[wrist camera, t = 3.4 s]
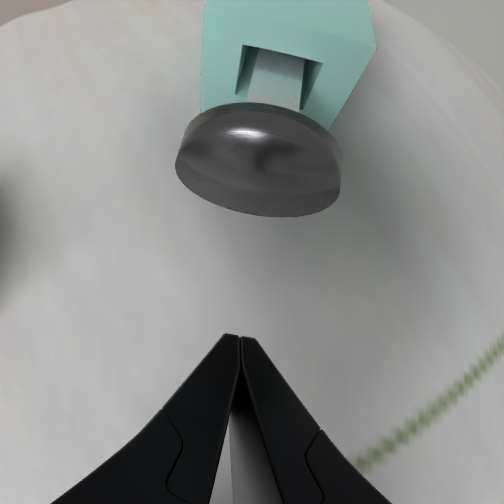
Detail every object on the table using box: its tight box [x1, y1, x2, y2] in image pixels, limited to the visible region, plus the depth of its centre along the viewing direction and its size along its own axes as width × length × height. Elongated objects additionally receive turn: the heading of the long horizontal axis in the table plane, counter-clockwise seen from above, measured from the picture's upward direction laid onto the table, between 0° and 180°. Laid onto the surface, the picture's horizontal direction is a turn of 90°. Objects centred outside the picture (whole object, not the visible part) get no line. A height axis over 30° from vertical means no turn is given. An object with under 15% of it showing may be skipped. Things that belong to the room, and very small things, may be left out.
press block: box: [200, 0, 377, 131], centre depth 18 cm, size 12×8×10 cm, turn 170°
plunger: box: [175, 48, 341, 217], centre depth 15 cm, size 12×7×7 cm, turn 170°
